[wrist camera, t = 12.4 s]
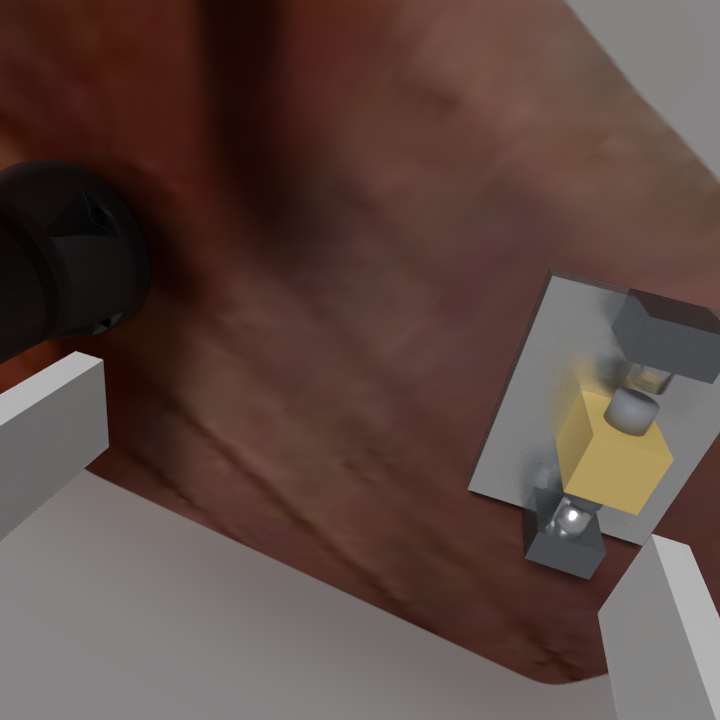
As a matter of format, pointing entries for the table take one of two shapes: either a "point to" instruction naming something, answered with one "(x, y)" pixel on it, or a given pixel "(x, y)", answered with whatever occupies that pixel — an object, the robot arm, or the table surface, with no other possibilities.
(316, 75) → the table surface
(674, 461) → the grey mounting plate
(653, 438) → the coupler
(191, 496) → the table surface
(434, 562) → the table surface
